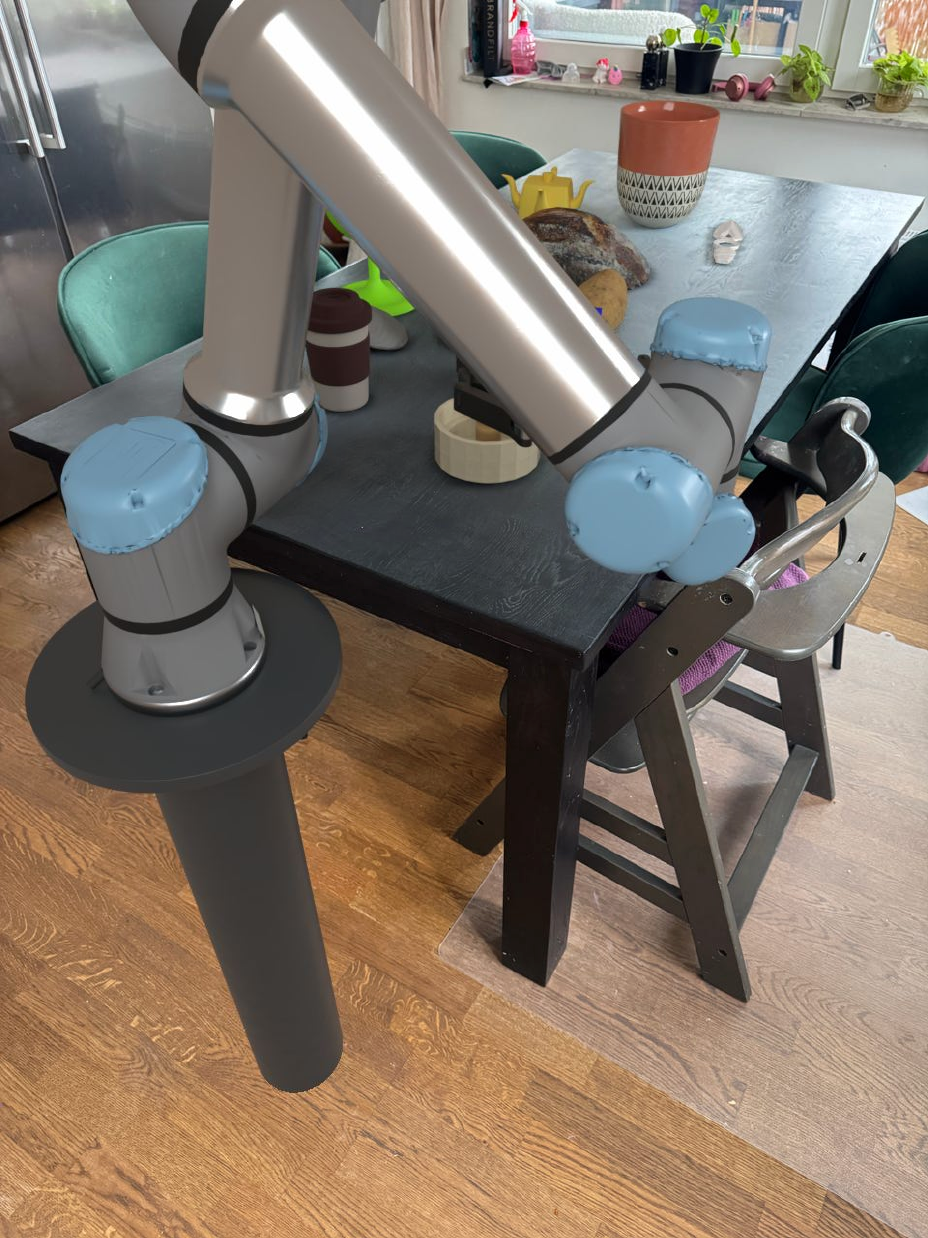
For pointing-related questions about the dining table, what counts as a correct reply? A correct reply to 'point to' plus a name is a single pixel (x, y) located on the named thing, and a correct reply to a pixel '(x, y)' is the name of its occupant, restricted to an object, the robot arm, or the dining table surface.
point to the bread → (587, 245)
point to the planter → (664, 159)
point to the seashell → (386, 331)
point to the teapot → (545, 193)
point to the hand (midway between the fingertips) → (522, 349)
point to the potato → (607, 295)
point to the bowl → (478, 450)
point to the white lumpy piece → (723, 252)
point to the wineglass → (377, 287)
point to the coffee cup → (339, 348)
